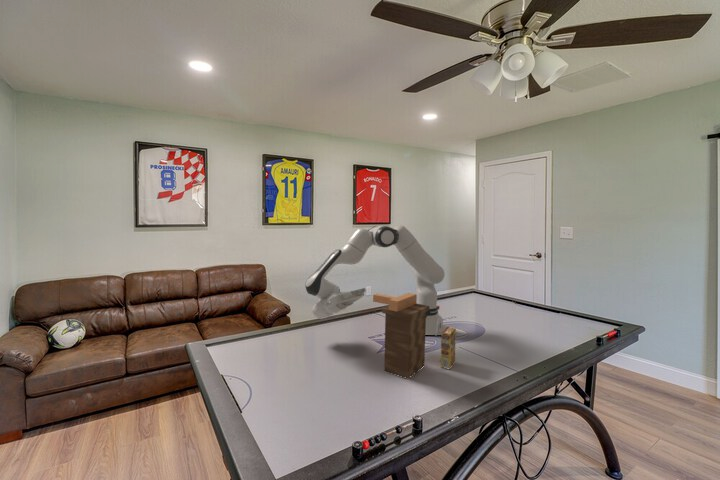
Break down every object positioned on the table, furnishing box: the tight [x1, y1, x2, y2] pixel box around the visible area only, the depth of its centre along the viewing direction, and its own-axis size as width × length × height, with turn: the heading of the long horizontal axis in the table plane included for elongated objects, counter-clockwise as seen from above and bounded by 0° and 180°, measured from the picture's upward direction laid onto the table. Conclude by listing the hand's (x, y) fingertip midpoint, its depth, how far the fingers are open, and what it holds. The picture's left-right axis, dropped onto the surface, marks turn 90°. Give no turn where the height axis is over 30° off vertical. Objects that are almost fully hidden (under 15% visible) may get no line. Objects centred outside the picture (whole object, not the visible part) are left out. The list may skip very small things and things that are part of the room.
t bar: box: [372, 292, 417, 312], centre depth 141 cm, size 16×16×4 cm
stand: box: [381, 304, 429, 379], centre depth 138 cm, size 16×13×26 cm
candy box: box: [440, 326, 457, 369], centre depth 143 cm, size 9×4×15 cm, turn 150°
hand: (358, 291), depth 151 cm, fingers open, 8 cm apart
